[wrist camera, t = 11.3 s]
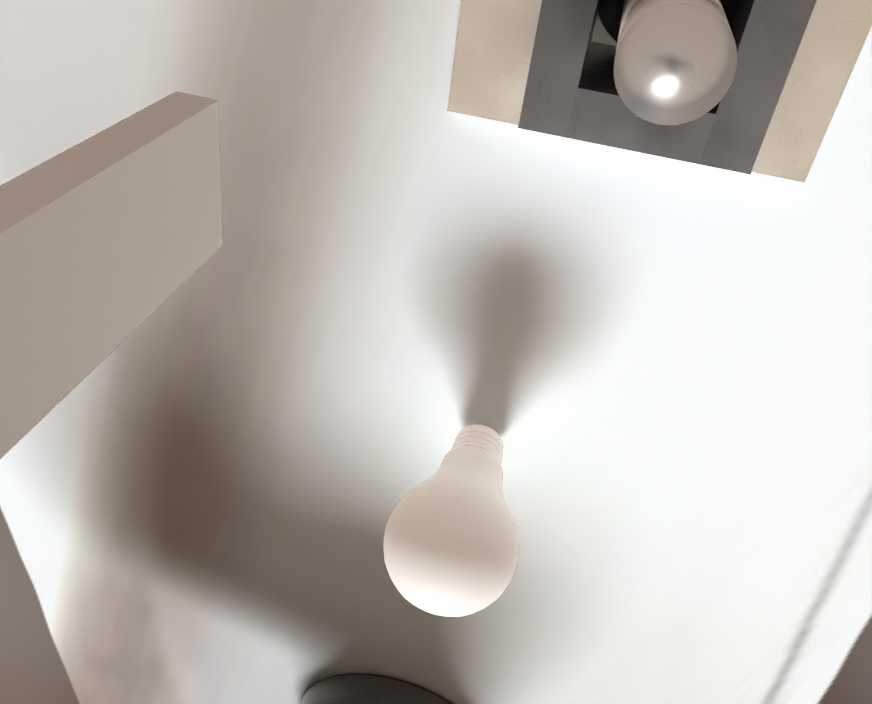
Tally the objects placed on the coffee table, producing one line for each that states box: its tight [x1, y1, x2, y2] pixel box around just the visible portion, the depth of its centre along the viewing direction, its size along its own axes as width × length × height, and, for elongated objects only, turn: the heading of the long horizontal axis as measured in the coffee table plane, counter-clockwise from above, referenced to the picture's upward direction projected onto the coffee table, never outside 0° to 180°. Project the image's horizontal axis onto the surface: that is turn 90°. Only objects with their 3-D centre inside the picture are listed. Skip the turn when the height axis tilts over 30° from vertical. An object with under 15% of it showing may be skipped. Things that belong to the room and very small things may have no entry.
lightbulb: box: [383, 425, 519, 617], centre depth 37 cm, size 6×6×11 cm
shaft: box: [447, 0, 872, 182], centre depth 22 cm, size 12×14×13 cm
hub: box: [518, 0, 817, 174], centre depth 24 cm, size 7×7×6 cm
